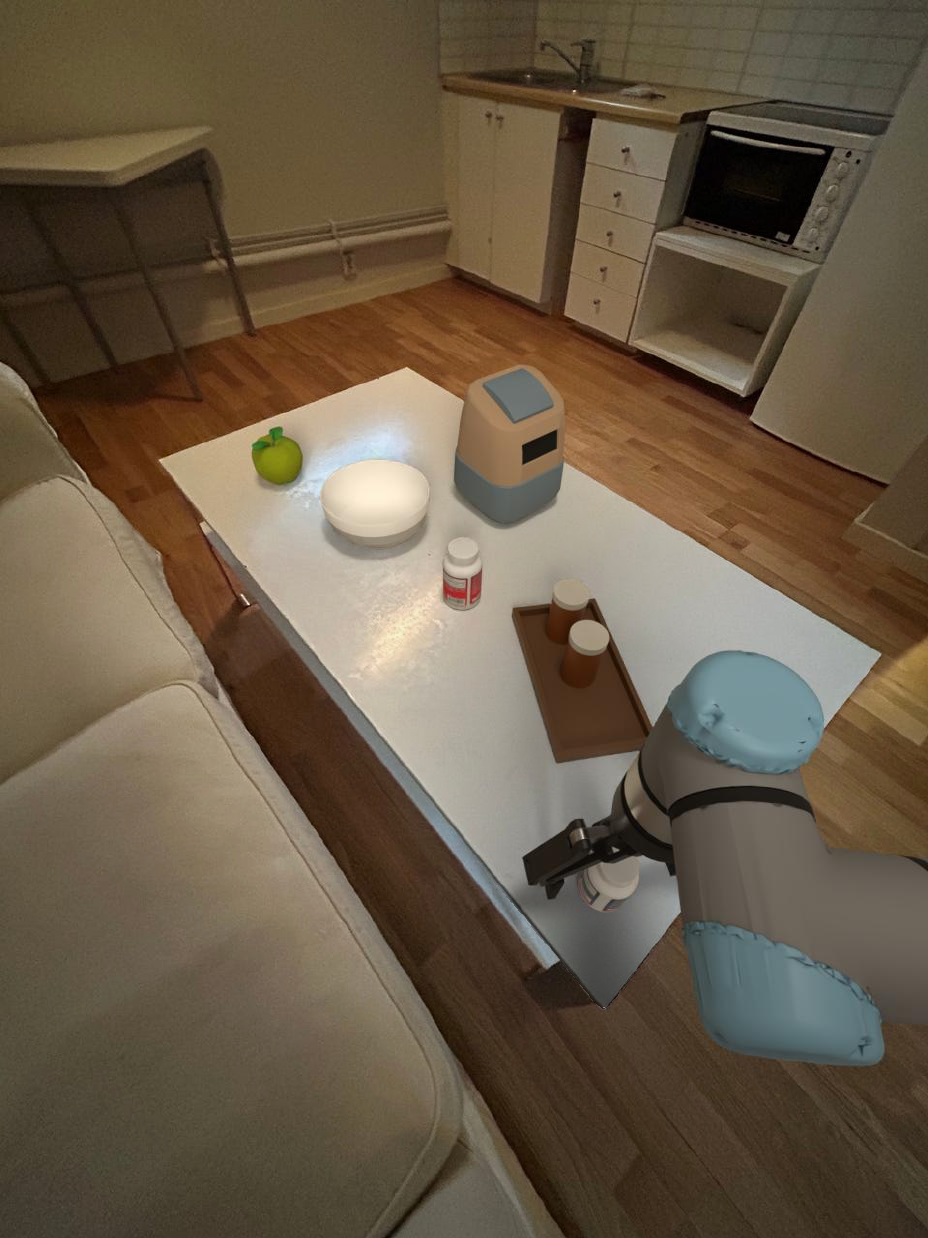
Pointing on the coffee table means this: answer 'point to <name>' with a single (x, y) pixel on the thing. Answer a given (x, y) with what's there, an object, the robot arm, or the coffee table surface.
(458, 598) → the pill bottle
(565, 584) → the amber bottle far
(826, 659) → the coffee table surface
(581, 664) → the amber bottle middle
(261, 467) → the fruit
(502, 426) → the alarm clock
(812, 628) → the coffee table surface
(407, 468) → the bowl
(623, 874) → the pill bottle
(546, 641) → the tray
